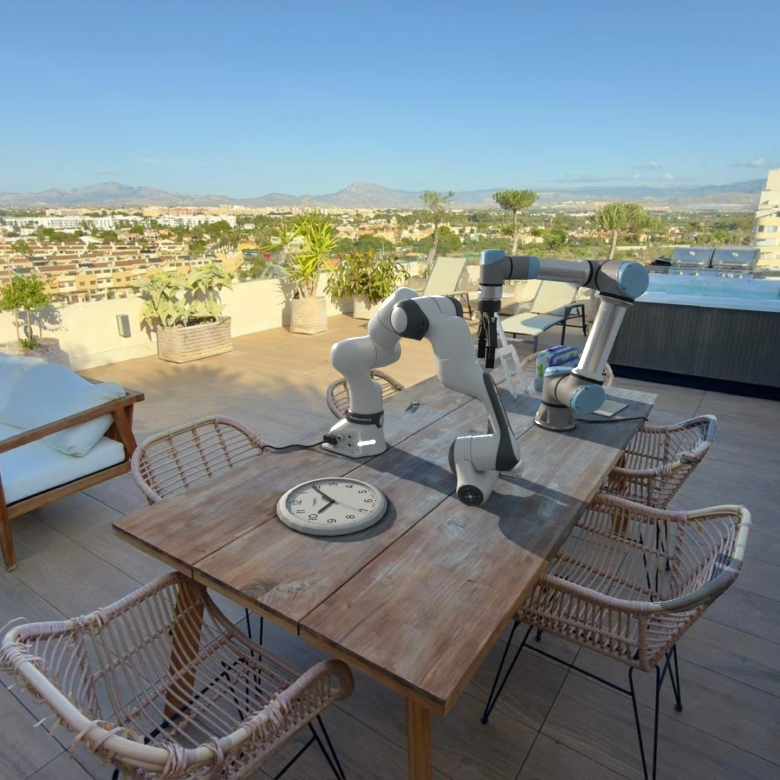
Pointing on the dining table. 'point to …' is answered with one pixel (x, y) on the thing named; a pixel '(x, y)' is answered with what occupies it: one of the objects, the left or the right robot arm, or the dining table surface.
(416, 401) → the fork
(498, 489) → the dining table surface
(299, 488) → the wall clock
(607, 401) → the invitation card
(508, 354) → the white plastic object
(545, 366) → the lunch box
